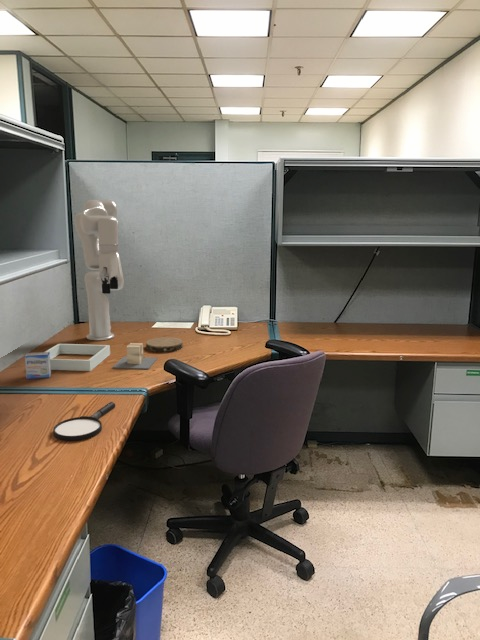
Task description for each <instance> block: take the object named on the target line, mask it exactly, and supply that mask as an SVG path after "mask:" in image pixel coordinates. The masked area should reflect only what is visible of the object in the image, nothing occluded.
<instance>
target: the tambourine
mask: <svg viewBox="0 0 480 640" xmlns="http://www.w3.org/2000/svg"><path fill="white" fill-rule="evenodd" d="M145 343H146V344H145V346H146V347H145V349H146V350H147V351H148V352H152V353H165V354H166V353H173V352H178V351H180V350H182V349H183V348H182V347H184V346H183V339H180V338H177V337H173V336H171V337H169V336H165V337H164V336H163V337H154V338H150V339H148V340H146V341H145ZM181 348H182V349H181ZM177 350H178V351H177Z"/></svg>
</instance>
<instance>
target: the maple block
mask: <svg viewBox="0 0 480 640" xmlns="http://www.w3.org/2000/svg"><path fill="white" fill-rule="evenodd" d="M126 357H127V364H141V363H142V361H143V357H144V343H143V342H142V343H137V342H136V343H135V342H130V343H129V344H128V345H127V346H126Z"/></svg>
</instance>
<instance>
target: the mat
mask: <svg viewBox="0 0 480 640" xmlns="http://www.w3.org/2000/svg"><path fill="white" fill-rule="evenodd" d="M157 360H158V357H149V356H148V357H147V356H145V357H144V356H143V361H142V363H141V364H127V356H123V357H121V359H119V360H118V361H117V362H116V363H115V364H114V365H113V366H112V367H111V368H112V369H121V370H122V369H124V370H149V369H151V367H152V366H153V365H154V363H155V362H156V361H157Z"/></svg>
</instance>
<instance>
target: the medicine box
mask: <svg viewBox="0 0 480 640" xmlns="http://www.w3.org/2000/svg"><path fill="white" fill-rule="evenodd" d="M24 363H25V364H24V365H25V376H26V377H25V378H26V380H35V379H36V380H37V379H48V378H49V379H50V377H51V374H52V370H51V368H50V353H49V352H45V351H44V352H26V354H25V356H24Z"/></svg>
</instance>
